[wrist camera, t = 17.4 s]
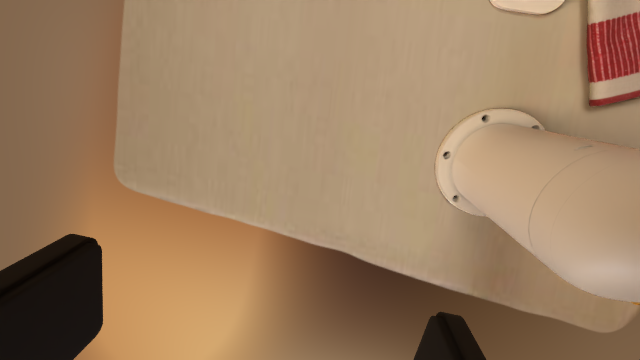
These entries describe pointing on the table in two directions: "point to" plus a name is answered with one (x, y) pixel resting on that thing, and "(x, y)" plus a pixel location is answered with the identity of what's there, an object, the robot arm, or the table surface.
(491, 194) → the robot arm
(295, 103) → the table surface
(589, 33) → the dish towel
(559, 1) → the chain link
